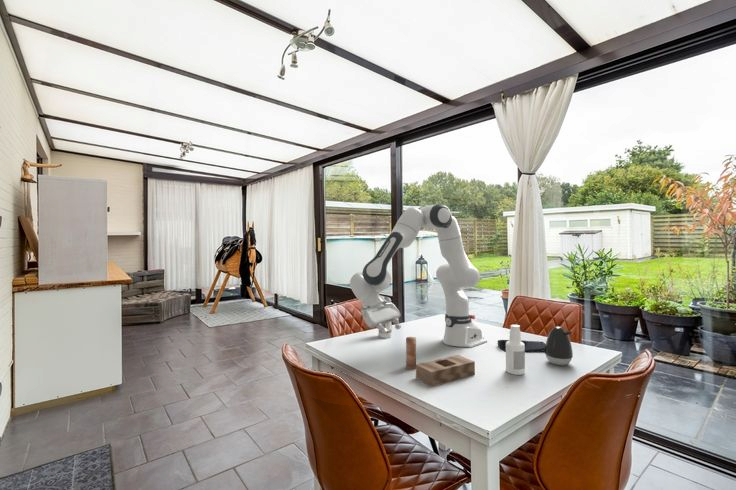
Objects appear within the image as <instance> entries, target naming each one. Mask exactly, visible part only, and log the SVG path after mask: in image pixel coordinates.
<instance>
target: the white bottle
mask: <svg viewBox="0 0 736 490" xmlns="http://www.w3.org/2000/svg"><path fill="white" fill-rule="evenodd" d="M509 326H510V329H509V339H508V340H509V341H507V342H506V352H505V371H506V372H507V373H508V374H510V375H516V376H517V375H518V376H522V375H524V374H525V372H526V371H525V370H526V364H525V363H526V352H525V344H524V343H523V342H521V341H522V338H521V325H519V324H511V325H509Z"/></svg>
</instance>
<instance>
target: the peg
mask: <svg viewBox="0 0 736 490" xmlns="http://www.w3.org/2000/svg"><path fill="white" fill-rule="evenodd" d="M405 353H406V354H405V356H406V357H405V360H406V361H405V362H406V363H405V364H406V367H405V368H406V369H407V370H410V371H411V370H416V364H417V337H415V336H406V338H405Z"/></svg>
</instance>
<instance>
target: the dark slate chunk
mask: <svg viewBox="0 0 736 490" xmlns="http://www.w3.org/2000/svg"><path fill="white" fill-rule="evenodd" d="M509 340H510V339H498V340H497V341H496V342H497V343H496V344H497V346H498V348H499V349H500V350H503V352H505V353H506V342H507V341H509ZM521 342H523V343H524V344H525V353H528V352H529V353H531V352H532V351H533V353H534V352H536V353H537V351H539V352H538V353H540V352H545V345H546V342H544V341H538V340H537V341H535V340H533V341H532V340H524V339H523V340H522V339H521Z"/></svg>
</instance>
